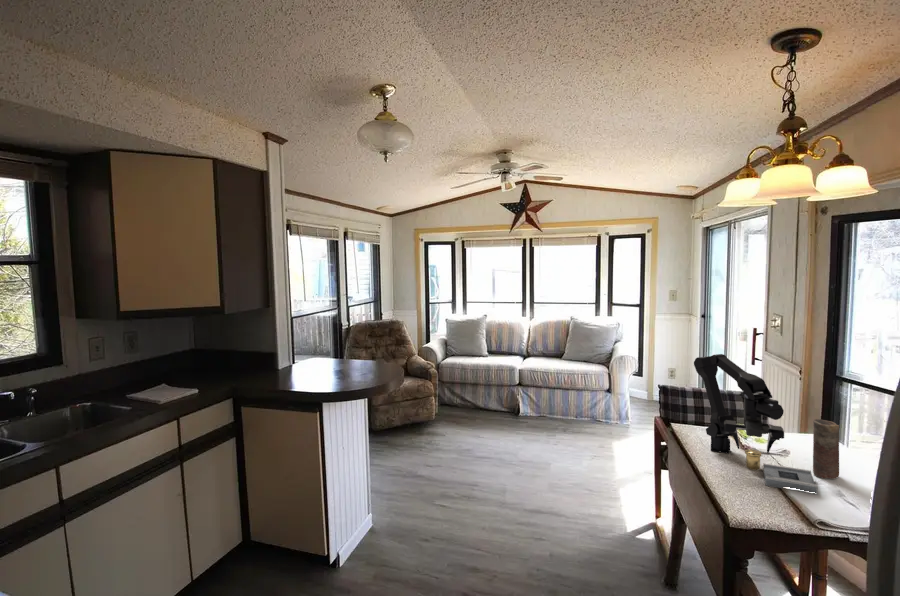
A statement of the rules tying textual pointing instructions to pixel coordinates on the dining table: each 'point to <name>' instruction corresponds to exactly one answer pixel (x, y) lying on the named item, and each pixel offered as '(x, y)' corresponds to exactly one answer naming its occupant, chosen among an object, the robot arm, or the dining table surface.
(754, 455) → the gold flared round piece
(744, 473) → the dining table surface
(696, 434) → the dining table surface
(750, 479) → the dining table surface
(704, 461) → the dining table surface
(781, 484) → the jig
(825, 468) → the candle
